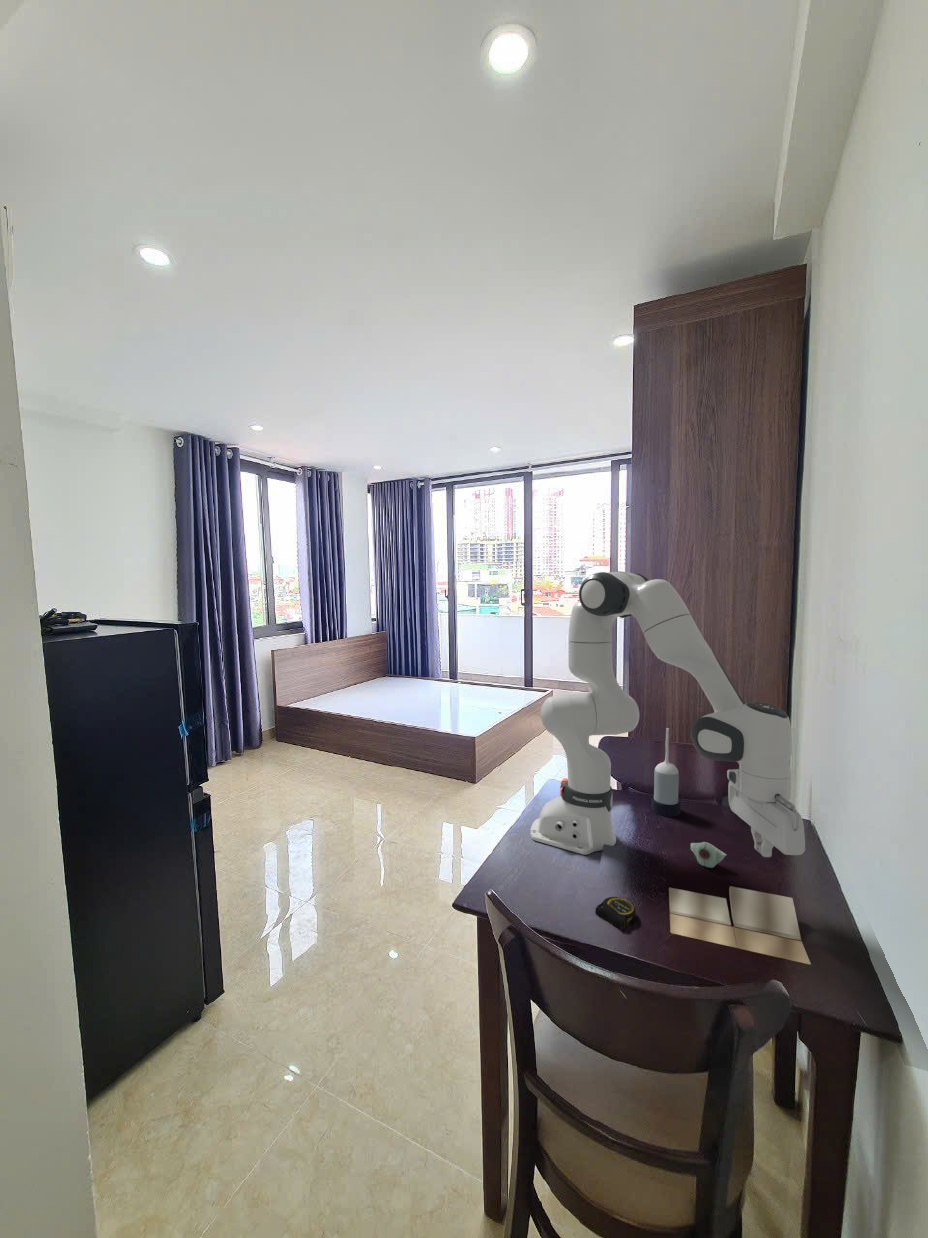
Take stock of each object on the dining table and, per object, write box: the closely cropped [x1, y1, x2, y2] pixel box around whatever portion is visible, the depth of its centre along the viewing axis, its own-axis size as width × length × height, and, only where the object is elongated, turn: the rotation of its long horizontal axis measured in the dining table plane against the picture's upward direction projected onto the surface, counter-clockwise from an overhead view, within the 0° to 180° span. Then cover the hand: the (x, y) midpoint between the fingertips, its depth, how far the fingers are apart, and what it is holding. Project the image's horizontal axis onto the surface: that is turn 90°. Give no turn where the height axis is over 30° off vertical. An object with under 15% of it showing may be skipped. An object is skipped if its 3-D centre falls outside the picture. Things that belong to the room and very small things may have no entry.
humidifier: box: [650, 727, 682, 818], centre depth 148 cm, size 8×8×25 cm
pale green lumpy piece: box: [690, 841, 728, 869], centre depth 117 cm, size 8×4×7 cm, turn 49°
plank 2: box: [728, 885, 802, 942], centre depth 97 cm, size 11×8×2 cm
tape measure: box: [594, 896, 638, 932], centre depth 99 cm, size 7×7×4 cm
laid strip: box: [669, 913, 812, 966], centre depth 93 cm, size 22×6×2 cm, turn 69°
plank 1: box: [668, 887, 732, 927], centre depth 102 cm, size 11×8×2 cm
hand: (762, 853), depth 99 cm, fingers closed
